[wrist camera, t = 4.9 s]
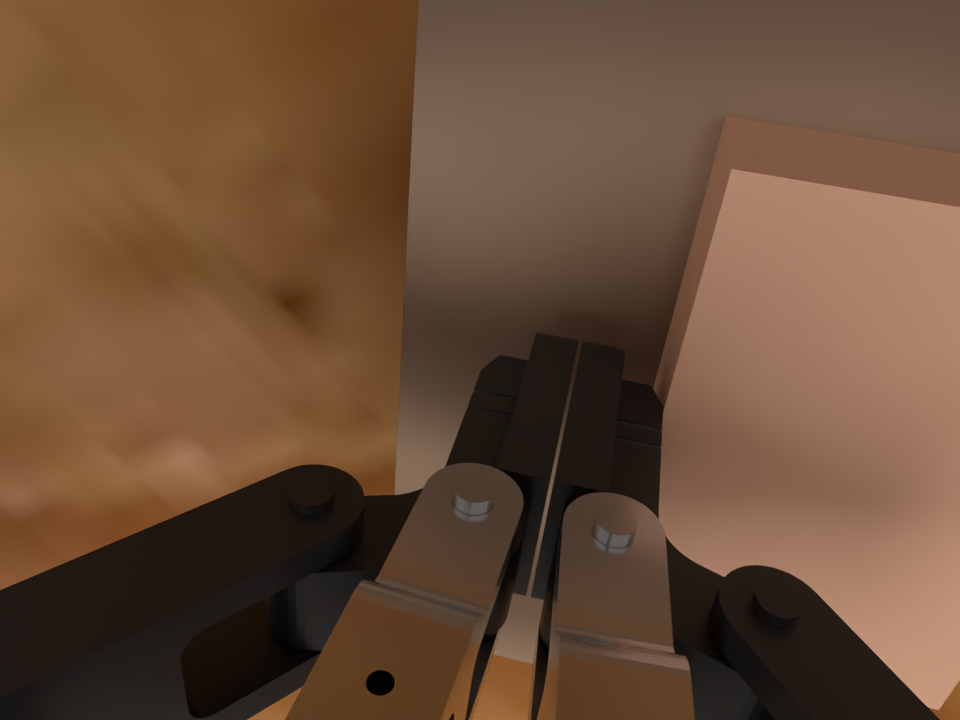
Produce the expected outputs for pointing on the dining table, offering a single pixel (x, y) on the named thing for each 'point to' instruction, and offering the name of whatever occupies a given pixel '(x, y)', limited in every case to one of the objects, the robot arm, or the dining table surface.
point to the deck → (612, 172)
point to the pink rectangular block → (825, 384)
